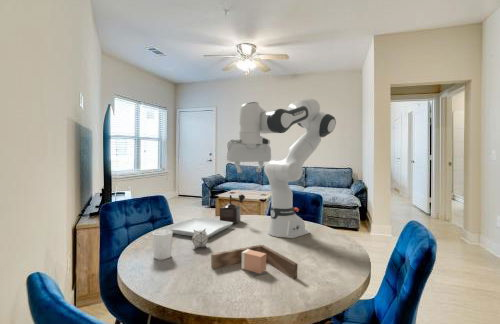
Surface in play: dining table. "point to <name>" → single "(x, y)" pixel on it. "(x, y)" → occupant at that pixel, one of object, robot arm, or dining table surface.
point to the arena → (271, 256)
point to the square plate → (199, 226)
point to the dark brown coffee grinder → (231, 211)
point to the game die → (200, 238)
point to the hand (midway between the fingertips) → (249, 172)
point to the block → (254, 261)
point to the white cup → (162, 244)
